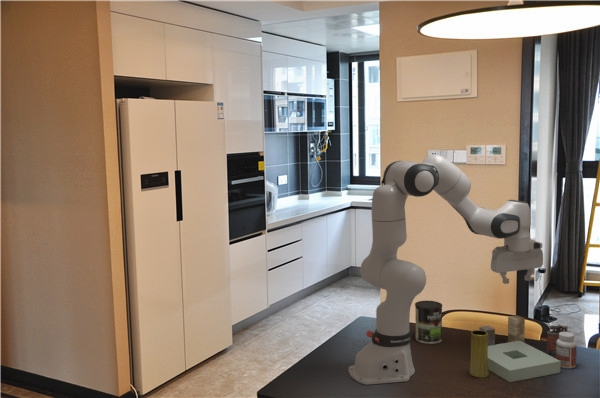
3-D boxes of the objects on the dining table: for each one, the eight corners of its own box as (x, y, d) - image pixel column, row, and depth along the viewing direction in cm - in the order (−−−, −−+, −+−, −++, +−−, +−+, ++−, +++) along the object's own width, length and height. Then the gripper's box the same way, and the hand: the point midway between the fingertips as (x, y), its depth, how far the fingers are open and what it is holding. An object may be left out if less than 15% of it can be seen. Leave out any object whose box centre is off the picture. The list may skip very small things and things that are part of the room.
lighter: (568, 350, 204) (569, 323, 203) (572, 354, 201) (572, 327, 200) (545, 350, 205) (545, 323, 204) (548, 353, 202) (549, 327, 201)
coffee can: (447, 341, 217) (447, 305, 215) (425, 345, 213) (425, 309, 212) (431, 332, 227) (431, 298, 225) (410, 337, 223) (409, 302, 221)
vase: (465, 372, 189) (465, 331, 187) (480, 368, 191) (480, 328, 190) (478, 379, 183) (478, 337, 182) (492, 375, 186) (493, 333, 184)
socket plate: (509, 382, 180) (509, 370, 180) (472, 359, 199) (472, 348, 199) (560, 372, 186) (560, 361, 186) (519, 351, 205) (519, 340, 205)
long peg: (515, 351, 205) (515, 320, 203) (507, 348, 208) (508, 316, 207) (524, 350, 206) (524, 318, 204) (516, 346, 210) (517, 315, 208)
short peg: (485, 345, 211) (485, 330, 211) (479, 342, 215) (479, 327, 214) (494, 344, 213) (494, 328, 212) (488, 340, 216) (488, 325, 216)
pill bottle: (570, 361, 195) (571, 330, 194) (579, 368, 189) (580, 336, 188) (552, 362, 195) (553, 331, 194) (561, 369, 189) (562, 337, 187)
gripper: (498, 248, 196) (498, 287, 198) (546, 243, 202) (545, 280, 204) (487, 245, 202) (487, 283, 204) (534, 240, 208) (533, 276, 210)
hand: (516, 281), depth 204 cm, fingers open, 8 cm apart
